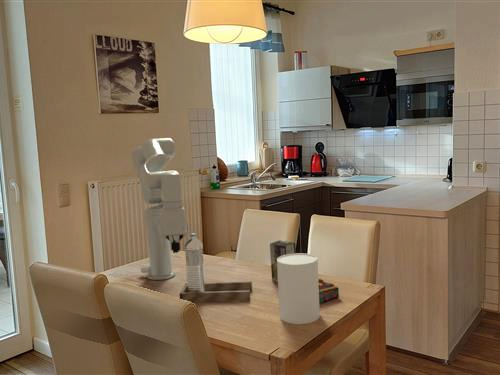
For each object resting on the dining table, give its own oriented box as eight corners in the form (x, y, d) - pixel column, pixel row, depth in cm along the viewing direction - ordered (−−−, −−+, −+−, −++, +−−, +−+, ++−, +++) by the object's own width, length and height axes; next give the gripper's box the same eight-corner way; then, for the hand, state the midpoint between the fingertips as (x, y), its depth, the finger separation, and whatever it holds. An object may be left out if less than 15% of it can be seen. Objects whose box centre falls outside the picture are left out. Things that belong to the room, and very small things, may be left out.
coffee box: (297, 280, 205) (296, 242, 203) (287, 284, 201) (285, 246, 199) (281, 276, 212) (279, 239, 209) (271, 280, 207) (269, 243, 205)
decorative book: (315, 288, 196) (315, 276, 195) (341, 299, 182) (341, 286, 181) (291, 294, 190) (290, 281, 190) (316, 306, 176) (316, 293, 176)
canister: (323, 322, 162) (321, 262, 159) (282, 325, 161) (279, 265, 158) (315, 307, 175) (312, 252, 173) (277, 310, 174) (274, 255, 172)
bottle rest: (180, 302, 187) (179, 293, 187) (186, 291, 199) (185, 283, 199) (250, 300, 185) (249, 291, 185) (252, 289, 197) (251, 281, 197)
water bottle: (203, 299, 189) (198, 235, 185) (185, 299, 190) (181, 236, 187) (208, 293, 195) (203, 231, 192) (191, 293, 197) (187, 231, 193)
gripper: (150, 207, 185) (154, 255, 188) (189, 205, 184) (193, 253, 186) (155, 204, 193) (159, 250, 195) (193, 202, 192) (197, 248, 194)
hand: (176, 251), depth 191 cm, fingers closed
